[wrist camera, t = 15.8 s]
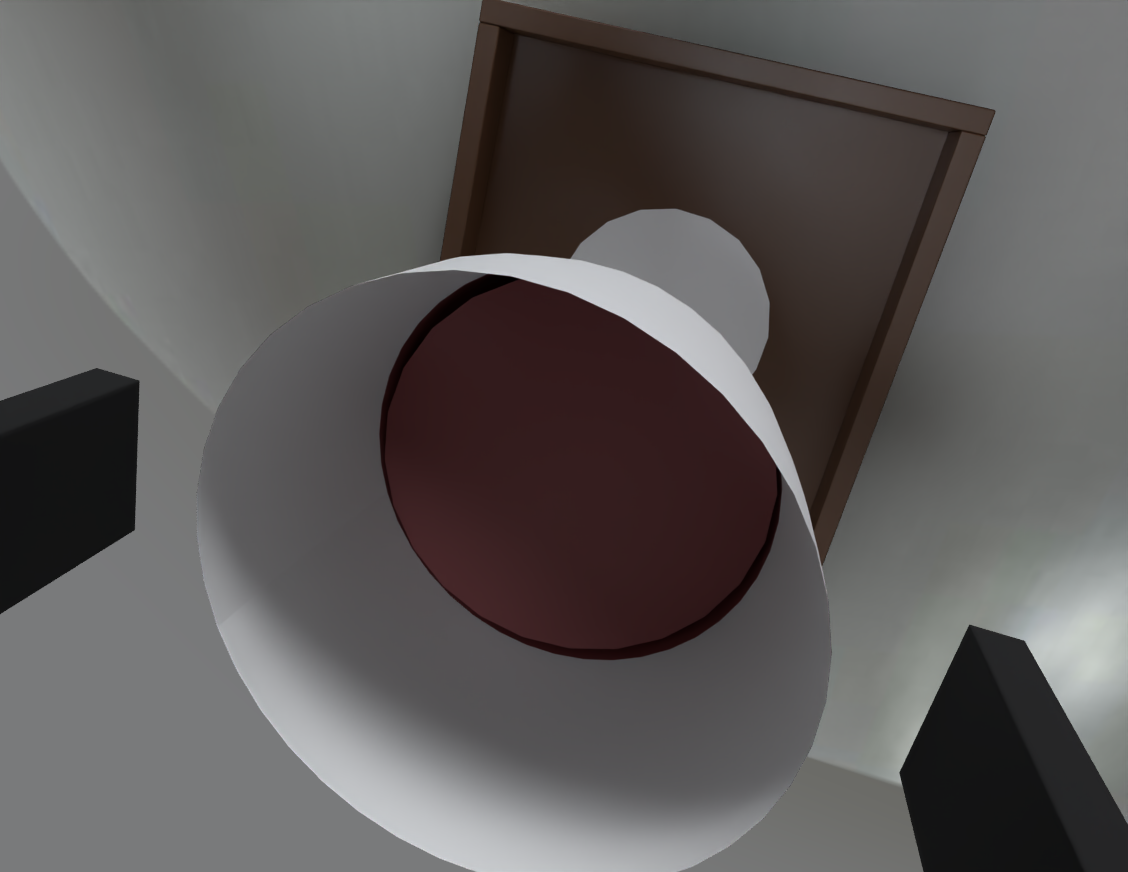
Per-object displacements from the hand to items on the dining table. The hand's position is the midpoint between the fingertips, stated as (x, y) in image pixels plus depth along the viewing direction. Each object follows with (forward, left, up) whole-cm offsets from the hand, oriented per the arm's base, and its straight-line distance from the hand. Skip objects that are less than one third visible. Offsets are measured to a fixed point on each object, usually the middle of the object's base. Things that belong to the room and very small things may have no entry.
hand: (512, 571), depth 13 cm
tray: (0, 0, -23) cm, 23 cm away
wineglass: (0, 0, -22) cm, 22 cm away
